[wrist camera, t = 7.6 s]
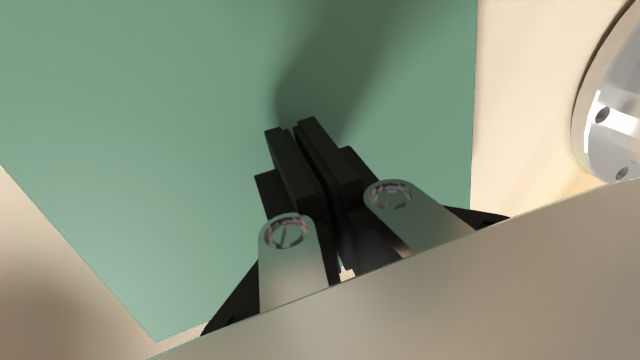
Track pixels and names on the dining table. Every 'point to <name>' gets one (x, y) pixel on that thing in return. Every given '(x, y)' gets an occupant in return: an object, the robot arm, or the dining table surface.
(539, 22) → the dining table surface
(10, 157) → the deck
